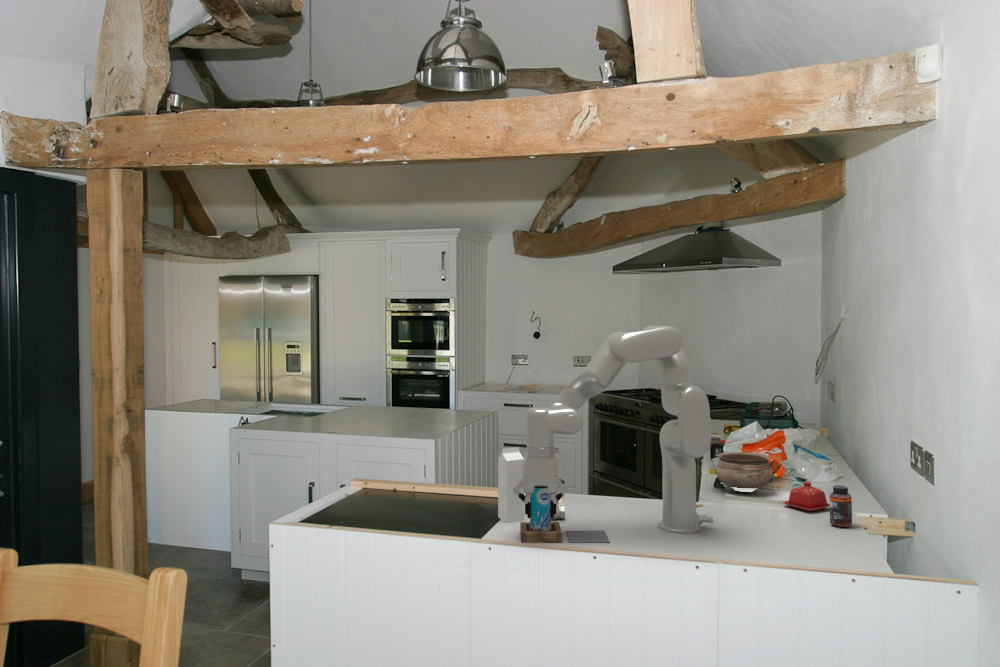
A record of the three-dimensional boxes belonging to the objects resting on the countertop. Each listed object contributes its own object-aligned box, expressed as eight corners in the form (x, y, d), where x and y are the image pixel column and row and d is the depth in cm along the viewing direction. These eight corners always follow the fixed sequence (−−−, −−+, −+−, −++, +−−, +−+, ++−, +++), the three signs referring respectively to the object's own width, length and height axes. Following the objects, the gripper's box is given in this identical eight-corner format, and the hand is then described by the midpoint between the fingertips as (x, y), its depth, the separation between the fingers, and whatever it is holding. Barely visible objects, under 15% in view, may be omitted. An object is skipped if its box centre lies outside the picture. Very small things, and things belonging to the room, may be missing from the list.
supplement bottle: (851, 523, 215) (851, 485, 215) (852, 528, 210) (852, 489, 210) (829, 521, 218) (829, 483, 218) (829, 526, 212) (829, 487, 212)
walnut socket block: (558, 532, 208) (558, 521, 208) (562, 544, 197) (561, 533, 197) (520, 532, 208) (520, 522, 208) (521, 544, 197) (521, 533, 197)
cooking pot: (785, 498, 246) (785, 462, 246) (731, 499, 245) (731, 463, 244) (754, 482, 271) (754, 449, 271) (705, 483, 270) (705, 450, 269)
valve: (565, 522, 218) (565, 482, 218) (543, 522, 218) (543, 482, 218) (564, 516, 224) (564, 478, 224) (542, 516, 225) (542, 478, 224)
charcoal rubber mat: (604, 532, 208) (604, 530, 208) (610, 543, 197) (609, 542, 197) (565, 532, 208) (565, 530, 208) (569, 544, 197) (569, 542, 197)
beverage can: (535, 542, 198) (535, 487, 198) (526, 536, 204) (526, 483, 204) (554, 539, 201) (554, 485, 200) (545, 534, 206) (545, 481, 206)
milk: (498, 519, 223) (497, 447, 222) (515, 516, 225) (514, 445, 225) (507, 523, 217) (506, 450, 217) (524, 521, 220) (524, 448, 220)
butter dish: (780, 505, 237) (780, 479, 237) (805, 501, 242) (805, 476, 242) (809, 513, 227) (809, 486, 227) (834, 509, 232) (834, 483, 232)
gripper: (569, 449, 206) (570, 513, 206) (509, 450, 206) (509, 513, 206) (572, 454, 198) (572, 520, 198) (509, 455, 198) (509, 520, 198)
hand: (540, 516), depth 202 cm, fingers closed on beverage can, 5 cm apart
